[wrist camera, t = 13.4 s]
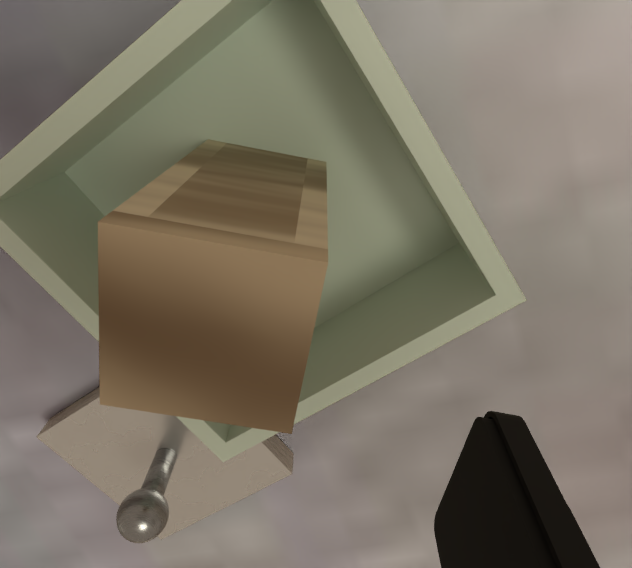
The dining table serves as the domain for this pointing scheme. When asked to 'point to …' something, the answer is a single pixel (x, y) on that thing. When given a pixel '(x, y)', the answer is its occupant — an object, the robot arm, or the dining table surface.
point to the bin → (282, 137)
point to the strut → (214, 287)
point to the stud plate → (157, 466)
